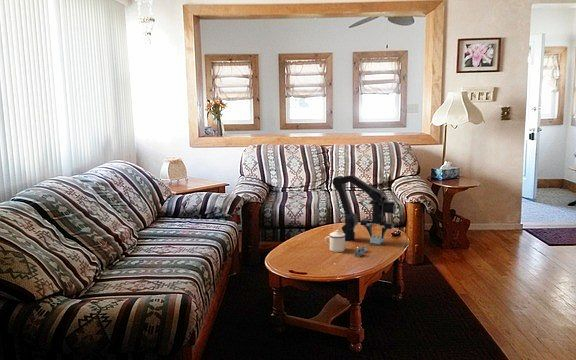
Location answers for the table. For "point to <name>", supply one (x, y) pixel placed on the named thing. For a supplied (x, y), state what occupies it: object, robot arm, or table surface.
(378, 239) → the end link
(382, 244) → the grey peg holder
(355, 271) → the table surface
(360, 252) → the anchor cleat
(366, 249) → the link
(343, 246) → the teacup with lid
